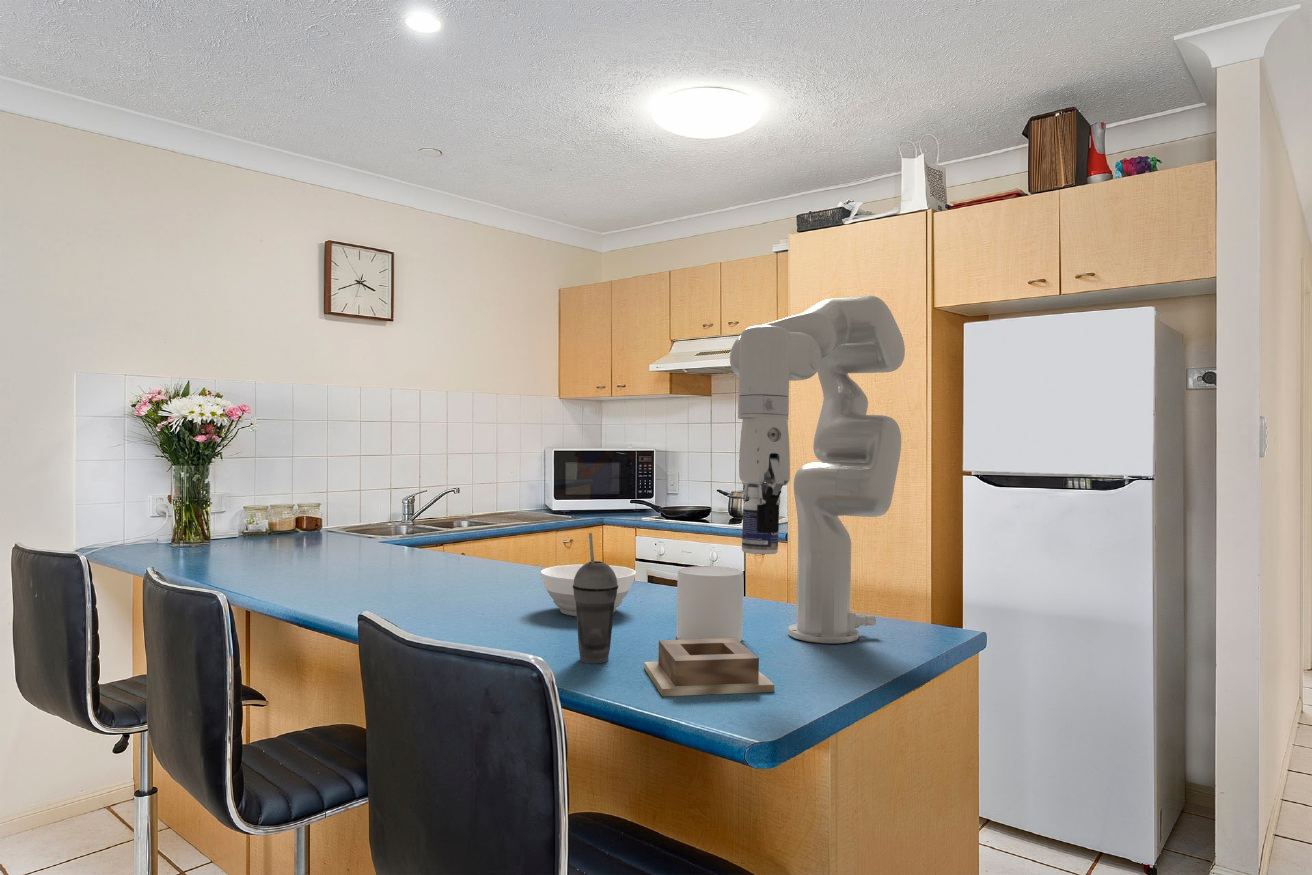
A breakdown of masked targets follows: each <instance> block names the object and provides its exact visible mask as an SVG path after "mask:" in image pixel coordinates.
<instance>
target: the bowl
mask: <svg viewBox="0 0 1312 875" xmlns="http://www.w3.org/2000/svg"><path fill="white" fill-rule="evenodd" d="M584 564H585V563H584ZM584 564H581V563H580V564H566V565H565V564H564V565H554V566H549V567H546V568H543V569H541V570H540V576H541V579H542V583H543V584H544V588H545V589H546V592H547V593H548V595H549V596H550V597H551V598H552V600H553V603H554V605H556V607H558V608H559V612H561V613H562V614H564V615H567V616H571V617H577V614H576V601H575V598H574V589H573V588H572V587H573V584H574V578H575V575H576V573H577V572H578V570H579V569H580V568H581V567H582V566H583V565H584ZM607 565H608V566H610V567H611V568H612V570H613V571H614V573H615V575H616V578H617V585H618V589H617V595H616V600H615V604H614V613H615V612H616V610H617V609H616V608H619V606H621V605H622V603H623V600H624V599H625V598H626V597H627V595H628V593H629V591H630V589H631V588H632V585H633V583H634V580H635V577H636V575H637V571H636V570H635V569H632V568H630V567H626V566H620V565H609V564H607Z"/></svg>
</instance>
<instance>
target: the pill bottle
mask: <svg viewBox="0 0 1312 875" xmlns="http://www.w3.org/2000/svg"><path fill="white" fill-rule="evenodd" d="M766 491H767V489H765V494H766ZM748 496H749V497H750V498H749V501H747V502H745V503H744V505H742V529H741V531H742V532H741V533H742V534H741V551H742V552H743V553H746V554H751V555H776V554H777V553H778V552H779V551H778V550H779V531H778V532H777V533H760V532H758V531H757V505H760V499H759V488H758V487H748Z"/></svg>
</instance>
